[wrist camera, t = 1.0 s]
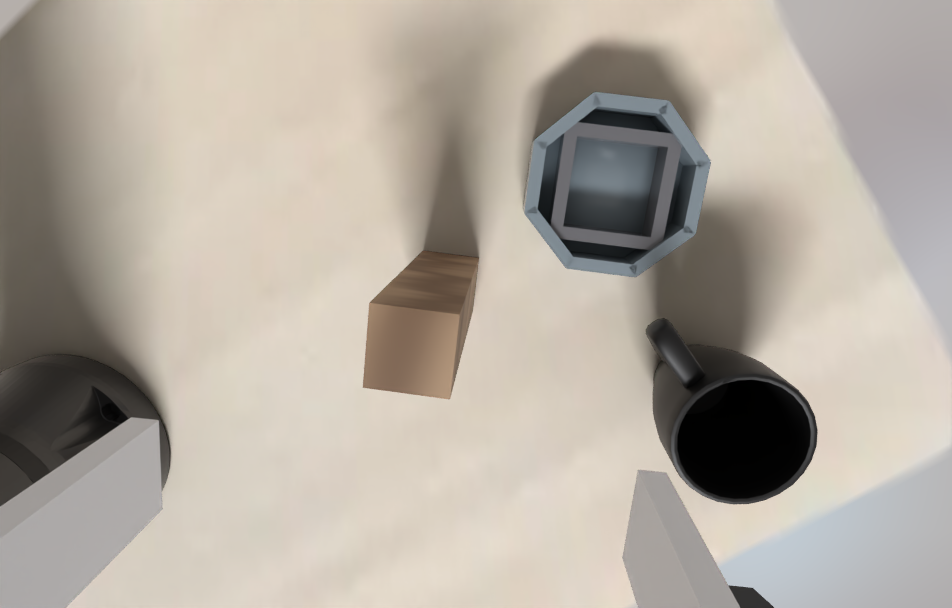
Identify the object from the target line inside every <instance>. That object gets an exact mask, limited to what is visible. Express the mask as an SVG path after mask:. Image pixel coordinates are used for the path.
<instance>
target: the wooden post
mask: <svg viewBox="0 0 952 608" xmlns="http://www.w3.org/2000/svg"><path fill="white" fill-rule="evenodd" d="M478 262H479V258H477V257H469V256H461V255H453V254H445V253H438V252H430V251H422V252H421V253H420V254H419V255H418V256H417V257H416V258H415V259H414V260H413V261H412V262H411V263H410V264H409V265H408V266H407V267H406V268H405V269H404V270H403V271H402V272H401V273H400V274H399V275H398V276H397V277H396V278H394V279H393V280H392V281H391V282H390V283H389V284H388V285H387V286H386V287H385V288H384V289H383V290H382V291H381V292H380V293H379V294H378V295H377V296H376V297H375V298H374V299H373V300H372V301H371V302H370V303H369V315H368V328H367V341H366V354H365V367H364V380H363V388H370V389H377V390H385V391H392V392H399V393H407V394H414V395H422V396H429V397H436V398H444V399H450V397H451V393H452V389H453V385H454V381H455V378H456V374H457V370H458V366H459V362H460V358H461V354H462V350H463V347H464V343H465V339H466V335H467V331H468V327H469V323H470V319H471V316H472V311H473V303H474V295H475V287H476V279H477V270H478Z"/></svg>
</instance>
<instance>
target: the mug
mask: <svg viewBox="0 0 952 608" xmlns="http://www.w3.org/2000/svg"><path fill="white" fill-rule="evenodd" d="M646 335H647V337H648V339H649V341H650V342H651V344H652V346H653V347H654V349H655V351H656V352H657V354H658V355H659V357H660V358H661V359H662V361H661V362H660V363H659V365H658V367H657V369H656V372H655V376H654V386H653V414H654V420H655V424H656V428H657V431H658V435H659V438H660V441H661V443H662V445H663V446H664V448H665V450H666V452H667V454H668V456H669V458H670V459H671V461H672V463H673V465H674V467H675V469H676V470H677V472H678V474H679V476H680V477H681V478H682V479H683V480H684V481H685V482H686V484H687V485H688V486H689V487H690V488H692V489H693V490H695V491H696V492H698V493H699V494H701V495H702V496H705V497H707V498H710V499H712V500H715V501H717V502H723V503H729V504H750V503H755V502H759V501H763V500H766V499H769V498H771V497H773V496H775V495H778V494H780V493H781V492H783V491H784V490H786V489H787V488H788V487H790V486H791V485H793V484H794V483H795V482H796V481H797V480H798V479H799V477H800V476H801V475H802V474H803V473H804V472H805V470H806V468H807V467H808V465H809V463H810V462H811V460H812V457H813V454H814V451H815V448H816V444H817V426H816V420H815V416H814V413H813V411H812V409H811V407H810V405H809V403H808V401H807V400H806V399H805V397H804V396H803V395H802V394H801V393H800V392H799V390H798V389H796V388H795V387H794V386H792V385H791V384H790V383H789V382H787V381H786V380H785V379H783V378H782V377H781V376H779V375H778V374H777V373H775V372H774V371H773V370H771V369H770V368H768V367H767V366H766V365H764V364H763V363H761V362H759V361H757V360H755V359H753V358H751V357H748V356H746V355H743V354H741V353H738V352H735V351H732V350H728V349H723V348H717V347H711V346H703V345H687V346H686V344H685V343H684V341H683V340H682V338H681V337H680V335H679V334H678V332H677V331H676V330H675V328H674V327H673V325H672V324H671V323H670V322H669V321H668V320H666V319H664V318H662V319H658V320H656V321H654V322H652V323H651V324H650V325H649V326H648V327H647V329H646Z"/></svg>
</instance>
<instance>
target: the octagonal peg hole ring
mask: <svg viewBox="0 0 952 608" xmlns="http://www.w3.org/2000/svg"><path fill="white" fill-rule="evenodd" d="M710 164H711V162H710V159H709V158H708V156H707V155H706V153H705V152H704V150H703V149H702V147H701V146H700V145H699V143H698V142H697V140H696V139H695V137H694V136H693V134H692V133H691V131H690V130H689V129H688V127H687V126H686V124H685V123H684V121H683V120H682V118H681V117H680V115H679V114H678V113H677V111H676V110H675V108H674V107H673V105H672V104H671V102H670V101H668V100H660V99H652V98H643V97H635V96H627V95H618V94H610V93H601V92H593V93H592V94H591V95H590V96H588V97H587V98H586V99H585V100H583V101H582V102H581V103H580V104H578V105H577V106H576V107H575V108H573V109H572V110H571V111H570V112H568V113H567V114H566V115H565V116H563V117H562V118H561V119H560V120H558V121H557V122H556V123H555V124H553V125H552V126H551V127H550V128H548V129H547V130H546V131H545V132H543V133H542V134H541V135H540V136H538V137H537V138H536V139H535V140H534V141H533V142H532V147H531V154H530V161H529V169H528V176H527V183H526V190H525V198H524V205H523V210H524V214H525V215H526V216H527V217H528V219H529V220H530V221H531V223H532V224H533V225H534V227H535V228H536V229H537V231H538V232H539V233H540V235H541V236H542V237H543V239H544V240H545V241H546V243H547V244H548V245H549V246H550V248H551V249H552V250H553V252H554V253H555V254H556V256H557V257H558V258H559V260H560V261H561V262H562V264H563V265H564V266H565V268H567V269H574V270H582V271H590V272H598V273H605V274H613V275H621V276H629V277H635V276H636V277H637V276H638V275H640V274H641V273H643V272H644V271H645V270H647V269H648V268H650V267H651V266H652V265H654V264H655V263H657V262H658V261H659V260H661V259H662V258H664V257H665V256H666V255H668V254H669V253H671V252H672V251H673V250H675V249H676V248H677V247H679V246H680V245H682V244H683V243H684V242H686V241H687V240H689V239H690V238H691V237H693V236H694V235H695V234H696V230H697V225H698V221H699V216H700V211H701V207H702V202H703V197H704V192H705V188H706V183H707V178H708V173H709V169H710Z"/></svg>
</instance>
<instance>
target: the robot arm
mask: <svg viewBox="0 0 952 608" xmlns="http://www.w3.org/2000/svg"><path fill="white" fill-rule="evenodd" d="M169 464H170V453H169V444H168V440H167V436H166V432H165V429H164V427H163V424H162V422H161V420H160V418H159V416H158V414H157V412H156V410H155V409H154V407H153V406H152V404H151V403H150V402H149V400H148V399H147V398H146V396H145V395H144V394H143V393H142V392H141V391H140V390H139V389H138V388H137V387H136V386H135V385H134V384H133V383H132V382H130V381H129V380H128V379H127V378H125V377H124V376H123V375H121V374H120V373H118V372H117V371H115V370H113V369H111V368H110V367H108V366H106V365H103V364H101V363H99V362H96V361H93V360H90V359H87V358H83V357H79V356H73V355H47V356H41V357H37V358H34V359H31V360H28V361H26V362H23V363H21V364H18V365H16V366H13V367H11V368H8V369H6V370H4V371H2V372H0V608H66V607H67V606H68V605H69V604H70V603H71V602H72V601H73V600H74V599H75V598H76V597H77V596H78V595H79V594H80V593H81V592H82V591H83V590H84V589H85V588H86V586H87V585H88V584H89V583H90V582H91V581H92V580H93V579H94V578H95V577H96V576H97V575H98V574H99V573H100V572H101V571H102V570H103V569H104V568H105V567H106V566H107V565H108V564H109V563H110V562H111V561H112V560H113V559H114V558H115V557H116V556H117V555H118V554H119V553H120V552H121V551H122V550H123V549H124V548H125V547H126V546H127V545H128V544H129V543H130V542H131V541H132V540H133V539H134V538H135V537H136V536H137V535H138V533H139V532H140V531H141V530H142V529H143V528H144V527H145V526H146V525H147V524H148V523H149V522H150V521H151V520H152V519H153V518H154V517H155V516H156V515H157V514H158V513H159V512H160V511H161V510H162V490H163V488H164V485H165V483H166V480H167V476H168V472H169ZM622 558H623V561H624V564H625V568H626V571H627V574H628V577H629V580H630V583H631V587H632V590H633V593H634V596H635V599H636V602H637V605H638V608H774V607H773V606H772V605H771V604H770V603H769V602H768V601H766V600H765V599H764V598H763V597H762V596H761V595H760V594H759V593H758V592H757V591H755V590H754V589H753V588H748V587H738V586H728V584H727V582H726V581H725V579H724V577H723V575H722V573H721V571H720V570H719V568H718V566H717V564H716V562H715V561H714V559H713V557H712V555H711V553H710V551H709V550H708V548H707V546H706V544H705V542H704V540H703V539H702V537H701V535H700V533H699V531H698V530H697V528H696V526H695V524H694V522H693V520H692V519H691V517H690V515H689V513H688V511H687V509H686V508H685V506H684V504H683V502H682V500H681V498H680V497H679V495H678V493H677V491H676V489H675V488H674V486H673V484H672V482H671V480H670V478H669V477H668V475H667V473H665V472H655V471H645V470H638V473H637V478H636V484H635V490H634V495H633V501H632V506H631V512H630V518H629V523H628V529H627V535H626V540H625V546H624V552H623V557H622Z"/></svg>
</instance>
